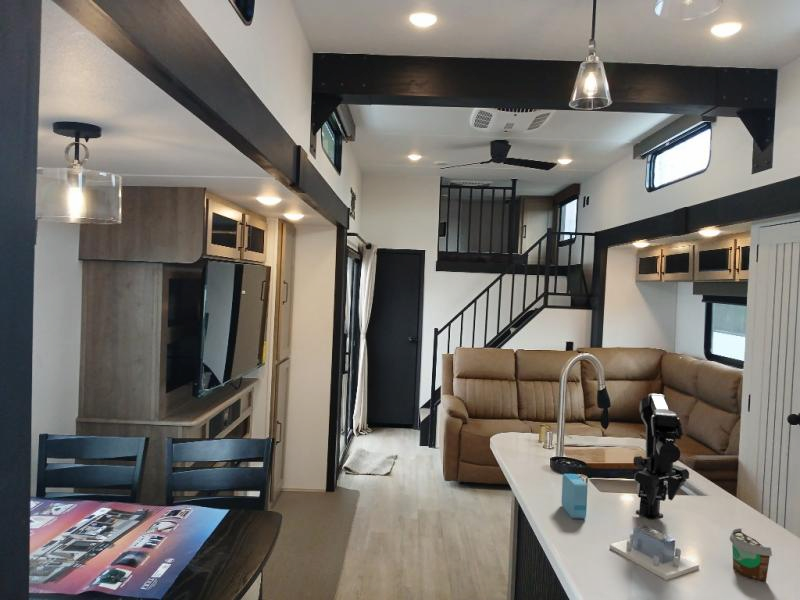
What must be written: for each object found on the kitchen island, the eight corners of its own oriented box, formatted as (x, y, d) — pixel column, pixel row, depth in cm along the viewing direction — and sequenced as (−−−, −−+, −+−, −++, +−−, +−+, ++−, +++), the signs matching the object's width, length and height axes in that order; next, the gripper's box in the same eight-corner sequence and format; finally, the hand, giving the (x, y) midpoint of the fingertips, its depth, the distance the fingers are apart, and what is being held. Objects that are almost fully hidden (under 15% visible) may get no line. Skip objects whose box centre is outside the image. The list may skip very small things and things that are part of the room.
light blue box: (586, 520, 182) (587, 485, 182) (573, 520, 182) (574, 484, 182) (573, 505, 194) (575, 472, 194) (561, 505, 194) (562, 472, 194)
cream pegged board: (641, 539, 170) (641, 527, 170) (698, 568, 153) (699, 556, 153) (609, 548, 163) (610, 536, 163) (666, 580, 147) (667, 566, 146)
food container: (718, 561, 158) (720, 527, 158) (737, 561, 158) (740, 527, 158) (748, 585, 146) (750, 548, 145) (770, 584, 146) (772, 548, 146)
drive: (643, 544, 164) (644, 524, 164) (674, 560, 155) (675, 539, 155) (632, 548, 162) (633, 527, 161) (662, 564, 153) (663, 542, 153)
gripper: (660, 442, 181) (657, 488, 181) (621, 448, 172) (618, 497, 172) (691, 452, 171) (688, 501, 171) (652, 459, 162) (649, 511, 163)
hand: (660, 502), depth 170 cm, fingers open, 9 cm apart
